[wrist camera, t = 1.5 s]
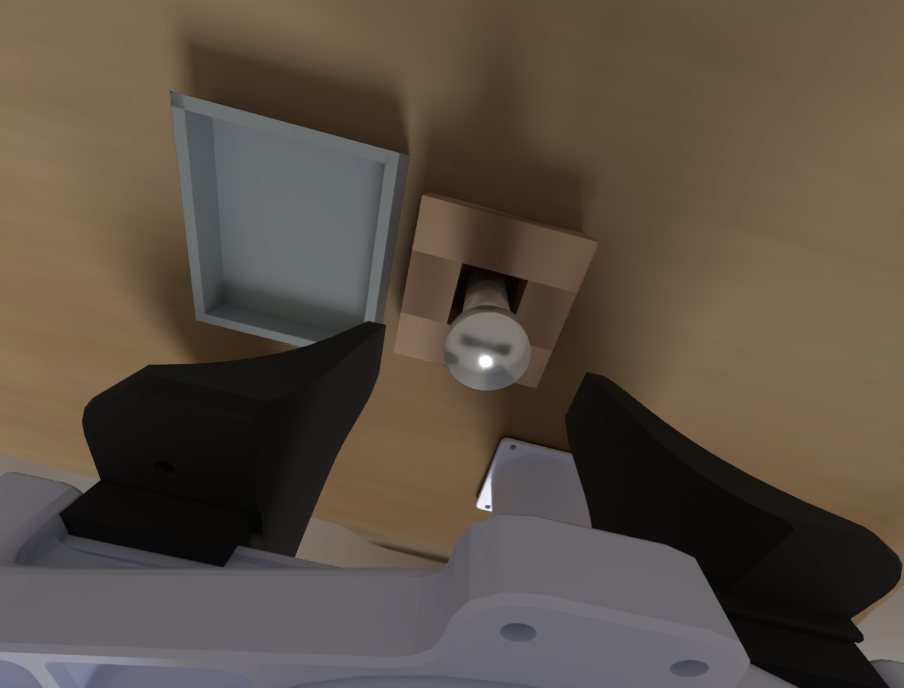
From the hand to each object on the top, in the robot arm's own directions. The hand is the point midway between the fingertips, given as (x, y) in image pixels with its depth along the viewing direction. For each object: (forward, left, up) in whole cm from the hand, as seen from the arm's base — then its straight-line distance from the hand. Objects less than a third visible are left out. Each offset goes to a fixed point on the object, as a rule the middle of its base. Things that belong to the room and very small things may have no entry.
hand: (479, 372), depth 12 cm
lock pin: (0, 0, -11) cm, 11 cm away
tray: (+11, 0, -11) cm, 15 cm away
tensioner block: (0, 0, -11) cm, 11 cm away
